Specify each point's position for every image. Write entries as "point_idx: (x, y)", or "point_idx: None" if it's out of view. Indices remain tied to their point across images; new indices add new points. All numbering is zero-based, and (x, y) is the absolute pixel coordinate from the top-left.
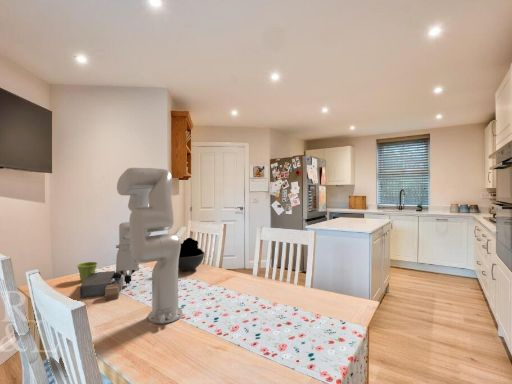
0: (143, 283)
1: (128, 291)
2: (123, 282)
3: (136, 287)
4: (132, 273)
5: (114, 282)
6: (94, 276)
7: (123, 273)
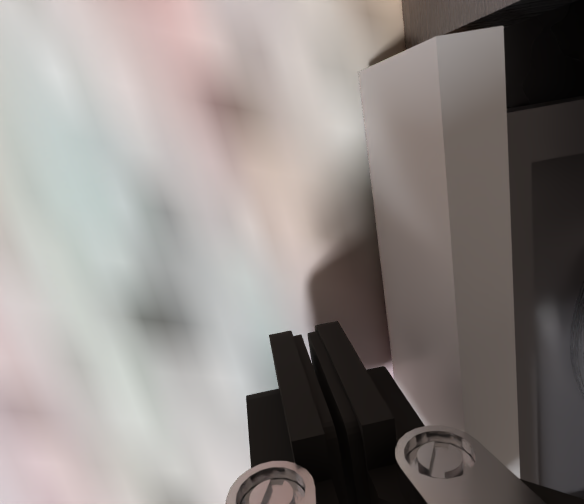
0: (35, 450)
1: (196, 21)
2: None
3: (100, 245)
4: None
5: (580, 341)
6: None
7: (524, 490)
